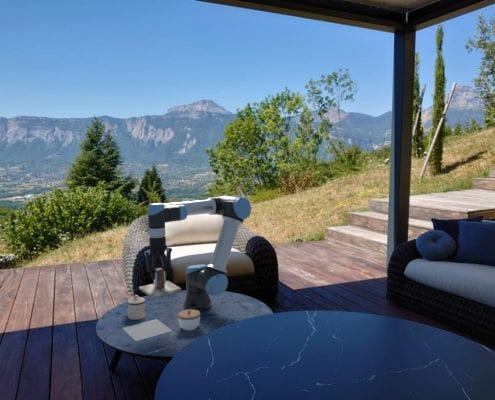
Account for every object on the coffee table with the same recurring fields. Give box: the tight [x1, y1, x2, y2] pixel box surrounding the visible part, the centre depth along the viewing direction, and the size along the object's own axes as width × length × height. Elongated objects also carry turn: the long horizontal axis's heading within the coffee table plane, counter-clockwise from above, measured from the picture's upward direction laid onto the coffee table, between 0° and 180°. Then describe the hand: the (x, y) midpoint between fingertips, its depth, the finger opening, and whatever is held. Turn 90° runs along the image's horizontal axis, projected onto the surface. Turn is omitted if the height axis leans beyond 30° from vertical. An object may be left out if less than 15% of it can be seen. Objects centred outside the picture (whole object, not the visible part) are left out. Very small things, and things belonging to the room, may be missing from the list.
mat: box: [121, 318, 173, 342], centre depth 196 cm, size 18×18×1 cm
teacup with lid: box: [126, 294, 147, 321], centre depth 212 cm, size 12×9×12 cm
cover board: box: [138, 267, 182, 299], centre depth 194 cm, size 15×15×10 cm
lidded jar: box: [177, 309, 201, 332], centre depth 196 cm, size 11×11×9 cm
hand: (159, 284), depth 194 cm, fingers closed on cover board, 3 cm apart
